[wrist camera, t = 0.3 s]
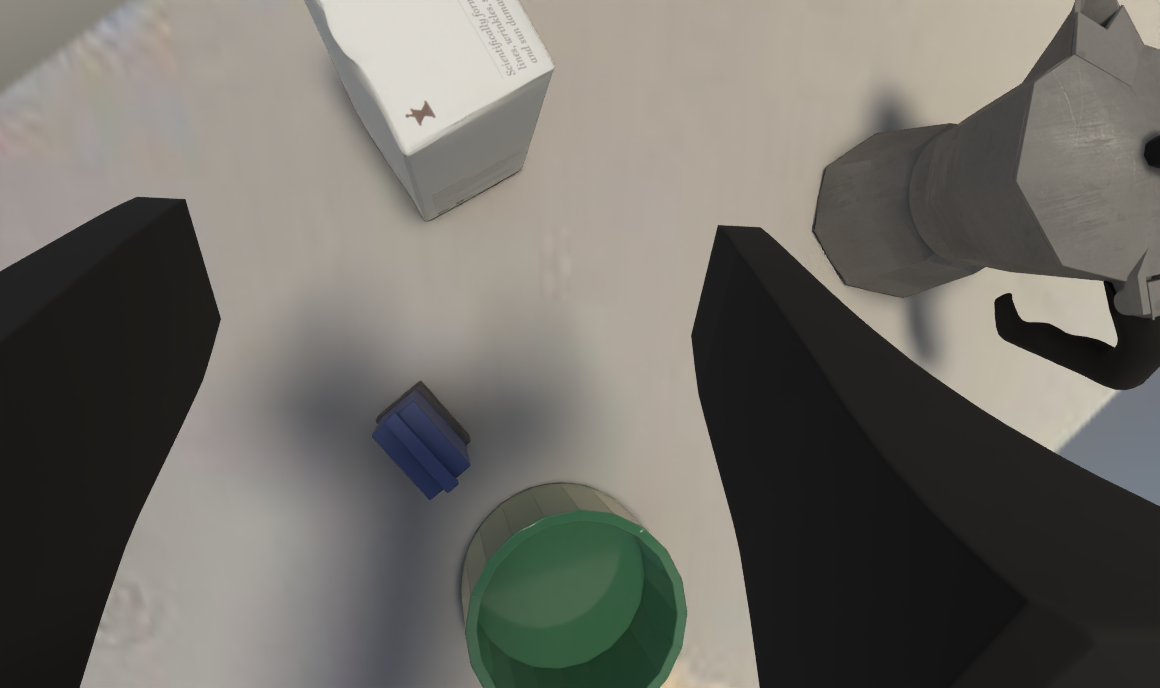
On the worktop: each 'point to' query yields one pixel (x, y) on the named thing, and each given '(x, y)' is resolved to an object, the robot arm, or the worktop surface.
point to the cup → (570, 595)
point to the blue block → (424, 440)
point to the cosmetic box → (440, 88)
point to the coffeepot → (1025, 195)
